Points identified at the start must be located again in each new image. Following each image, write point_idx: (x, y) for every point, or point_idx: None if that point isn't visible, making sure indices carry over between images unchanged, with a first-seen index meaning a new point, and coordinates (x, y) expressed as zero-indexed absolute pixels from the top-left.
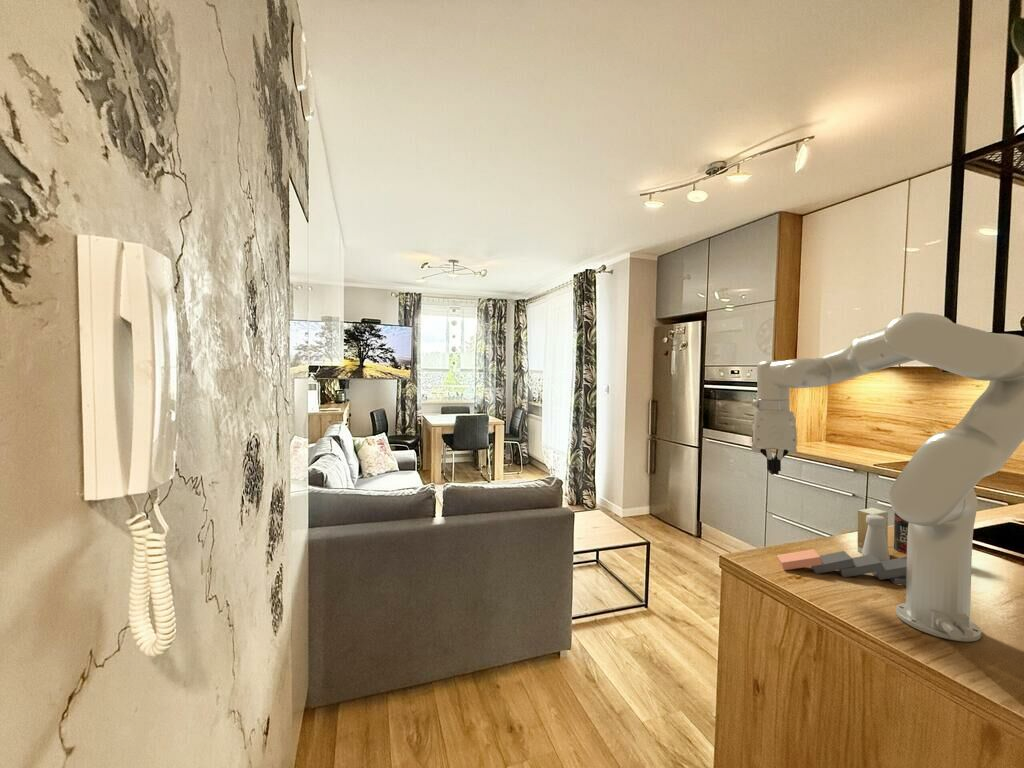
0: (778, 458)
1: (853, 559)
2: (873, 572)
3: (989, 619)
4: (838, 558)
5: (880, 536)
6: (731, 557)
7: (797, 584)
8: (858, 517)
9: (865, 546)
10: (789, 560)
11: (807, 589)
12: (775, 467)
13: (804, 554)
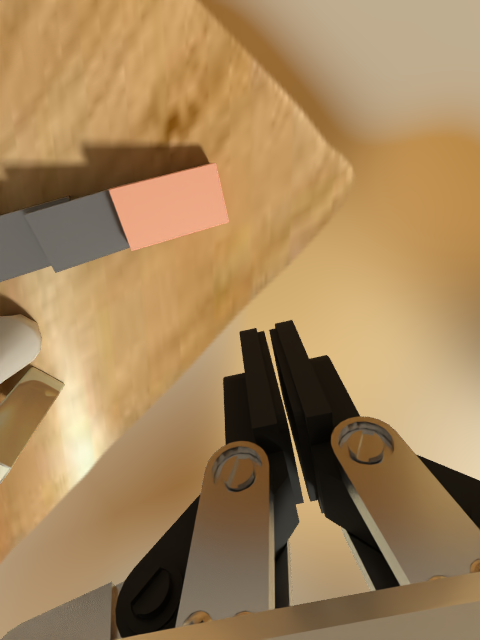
0: (253, 460)
1: (38, 257)
2: None
3: None
4: (66, 223)
5: None
6: (344, 186)
7: (171, 62)
8: (20, 448)
9: (18, 344)
10: (194, 176)
11: (143, 34)
12: (272, 364)
13: (155, 215)
